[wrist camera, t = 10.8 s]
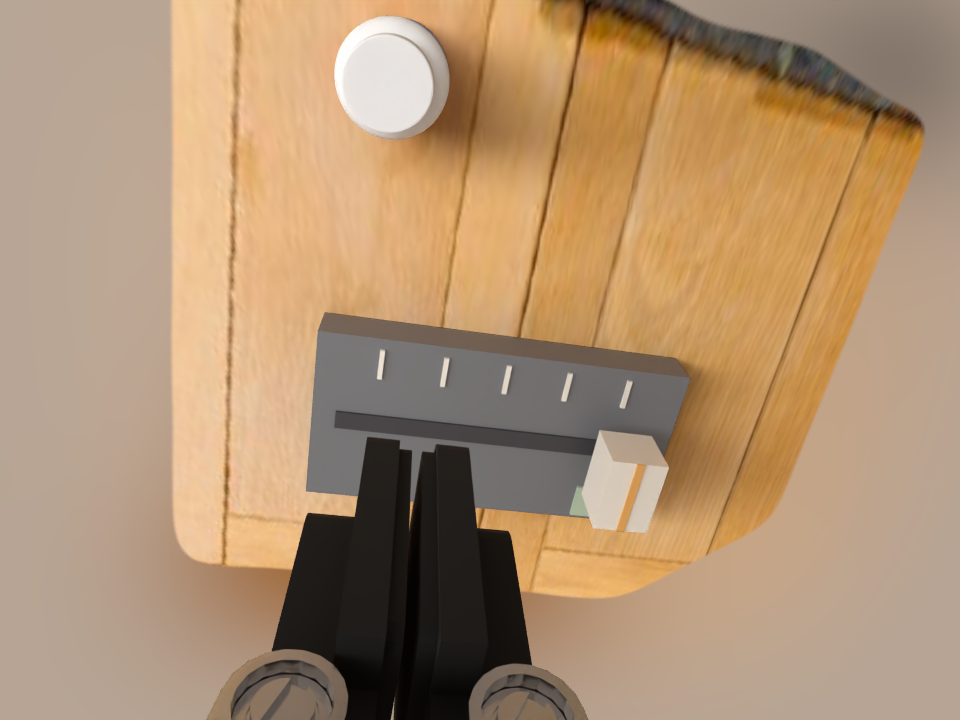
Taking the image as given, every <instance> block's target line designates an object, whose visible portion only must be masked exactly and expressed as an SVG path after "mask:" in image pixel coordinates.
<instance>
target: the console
mask: <svg viewBox="0 0 960 720" xmlns="http://www.w3.org/2000/svg"><path fill="white" fill-rule="evenodd" d="M690 379H691V378H690V376H689V375H688V374H687V373H686V371H685V370H684V369H683V367H682V366H681V365H680V363H679V362H678V361H677V359H676V358H669V357H661V356H654V355H646V354H639V353H631V352H623V351H616V350H608V349H600V348H593V347H585V346H577V345H570V344H562V343H555V342H547V341H539V340H532V339H524V338H516V337H509V336H501V335H494V334H486V333H478V332H471V331H463V330H455V329H448V328H440V327H432V326H425V325H417V324H410V323H402V322H394V321H387V320H379V319H371V318H364V317H356V316H349V315H341V314H333V313H326V312H325V313H324V316H323V319H322V321H321V324H320V327H319V329H318V337H317V350H316V364H315V377H314V390H313V404H312V417H311V430H310V444H309V457H308V470H307V484H306V491H308V492H318V493H329V494H339V495H350V496H358V493H359V486H360V480H361V473H362V467H363V460H364V454H365V447H366V441H367V437H376V438H385V439H395V440H400V449H405V450H412V469H411V493H410V501H413V502H414V498H415V491H416V485H417V479H418V473H419V466H420V460H421V455H422V451H424V452H434V449H435V445H436V444H441V445H451V446H460V447H468V448H469V451H470V460H471V471H472V481H473V491H474V502H475V507H476V508H486V509H496V510H507V511H517V512H528V513H538V514H549V515H559V516H570V517H580V518H589V515H588V512H587V509H586V506H585V503H584V500H583V497H582V494H581V493H582V490H583V486H584V483H585V479H586V476H587V473H588V469H589V466H590V462H591V459H592V455H593V452H594V448H595V445H596V441H597V438H598V434H599V431H600V430H603V431H612V432H621V433H629V434H638V435H647V436H652V437H653V439H654V441H655V443H656V445H657V446H658V448H659V450H660V452H661V454H662V455H663V457H664V455H665V453H666V450H667V447H668V444H669V441H670V438H671V435H672V432H673V429H674V426H675V423H676V420H677V417H678V414H679V412H680V409H681V406H682V403H683V400H684V397H685V394H686V391H687V388H688V385H689V382H690Z"/></svg>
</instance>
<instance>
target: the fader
mask: <svg viewBox="0 0 960 720" xmlns="http://www.w3.org/2000/svg"><path fill="white" fill-rule="evenodd" d="M668 470H669V466H668V464H667V463H666V461H665V459H664V457H663V455H662V454H661V452H660V450H659V448H658V446H657V445H656V443H655V441H654V439H653V437H652V436H647V435H638V434H629V433H621V432H612V431H603V430H600V431H599V434H598V438H597V441H596V445H595V448H594V452H593V455H592V459H591V462H590V466H589V469H588V473H587V476H586V479H585V483H584V486H583V490H582V493H581V494H582V497H583V500H584V503H585V506H586V509H587V512H588V515H589V518H590V521H591V524H592V527H593V528H597V529H608V530H616V531H618V532H624V531H629V532H640V533H647V530H648V527H649V524H650V521H651V518H652V516H653V513H654V510H655V507H656V504H657V501H658V498H659V495H660V493H661V490H662V487H663V484H664V481H665V478H666V475H667V472H668Z"/></svg>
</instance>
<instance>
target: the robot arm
mask: <svg viewBox="0 0 960 720" xmlns="http://www.w3.org/2000/svg"><path fill="white" fill-rule="evenodd" d="M411 469H412V450H405V449H400V440H395V439H385V438H376V437H367V441H366V447H365V454H364V460H363V467H362V473H361V480H360V486H359V493H358V499H357V506H356V512H355V517H348V516H337V515H326V514H315V513H308V514H307V516H306V519H305V522H304V526H303V530H302V534H301V538H300V542H299V546H298V550H297V554H296V558H295V562H294V566H293V570H292V573H291V577H290V581H289V585H288V589H287V593H286V597H285V601H284V605H283V609H282V613H281V617H280V621H279V624H278V628H277V632H276V636H275V640H274V644H273V648H272V652H268V653H264V654H262V655H260V656H258V657H256V658H254V659H251V660H249V661H247V662H246V663H245V664H244V665H242V666H241V667H240V668H239V669H237V670H236V671H235V672H234V673H233V674H232V675H231V676H230V678H229V679H228V681H227V682H226V683H225V685H224V686H223V688H222V689H221V691H220V693H219V695H218V697H217V699H216V701H215V703H214V705H213V707H212V709H211V711H210V713H209V715H208V717H207V719H206V720H391V715H392V709H393V703H394V720H588V718H587V715H586V713H585V710H584V708H583V707H582V705H581V703H580V701H579V699H578V697H577V696H576V694H575V693H574V692H573V691H572V690H571V689H570V688H569V686H567V684H566V683H565V682H564V681H563V680H561V679H560V678H558V677H557V676H555V675H553V674H551V673H550V672H549V671H547V670H544V669H541V668H538V667H535V666H532V662H531V656H530V651H529V644H528V637H527V631H526V625H525V619H524V613H523V607H522V601H521V594H520V588H519V582H518V576H517V570H516V564H515V557H514V551H513V545H512V540H511V536H510V533H509V532H508V531H502V530H491V529H480V528H477V523H476V512H475V502H474V491H473V481H472V471H471V460H470V451H469V448H468V447H460V446H451V445H441V444H436V445H435V449H434V452H424V451H422V455H421V460H420V466H419V473H418V479H417V485H416V491H415V498H414V504H413V510H412V517H411V523H410V529H409V518H410V493H411ZM394 697H395V701H394Z"/></svg>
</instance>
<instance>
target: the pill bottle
mask: <svg viewBox="0 0 960 720" xmlns="http://www.w3.org/2000/svg"><path fill="white" fill-rule="evenodd" d="M449 85H450V74H449V67H448V63H447V59H446V55H445V53H444V50H443V48H442V46H441V44H440V42H439V41H438V39H437V38H436V37H435V35H434V34H433V33H432V32H431V31H430V30H429V29H428V28H426V27H425V26H424V25H422V24H420V23H419V22H417V21H414V20H412V19H408V18H404V17H399V16H389V15H387V16H380V17H376V18H373V19H370V20H368V21H366V22H364V23H362V24H360V25H359V26H357V27H356V28H355V29H354V30H353V31H352V32H351V33H350V34H349V35H348V36H347V37H346V39H345V40H344V42H343V43H342V45H341V47H340V50H339V52H338V55H337V58H336V63H335V86H336V91H337V94H338V97H339V100H340V102H341V104H342V106H343V108H344V110H345V111H346V113H347V114H348V116H349V117H350V118H351V119H352V120H353V121H354V122H355V123H356V124H357V125H358V126H359V127H360V128H362V129H363V130H365V131H366V132H368V133H370V134H372V135H374V136H377V137H380V138H384V139H391V140H398V139H406V138H409V137H412V136H415V135H417V134H419V133H421V132H423V131H425V130H426V129H427V128H429V127H430V126H431V125H432V124H433V123H434V122H435V121H436V119H437V118H438V117H439V115H440V114H441V112H442V110H443V108H444V106H445V103H446V101H447V97H448V93H449Z"/></svg>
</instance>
